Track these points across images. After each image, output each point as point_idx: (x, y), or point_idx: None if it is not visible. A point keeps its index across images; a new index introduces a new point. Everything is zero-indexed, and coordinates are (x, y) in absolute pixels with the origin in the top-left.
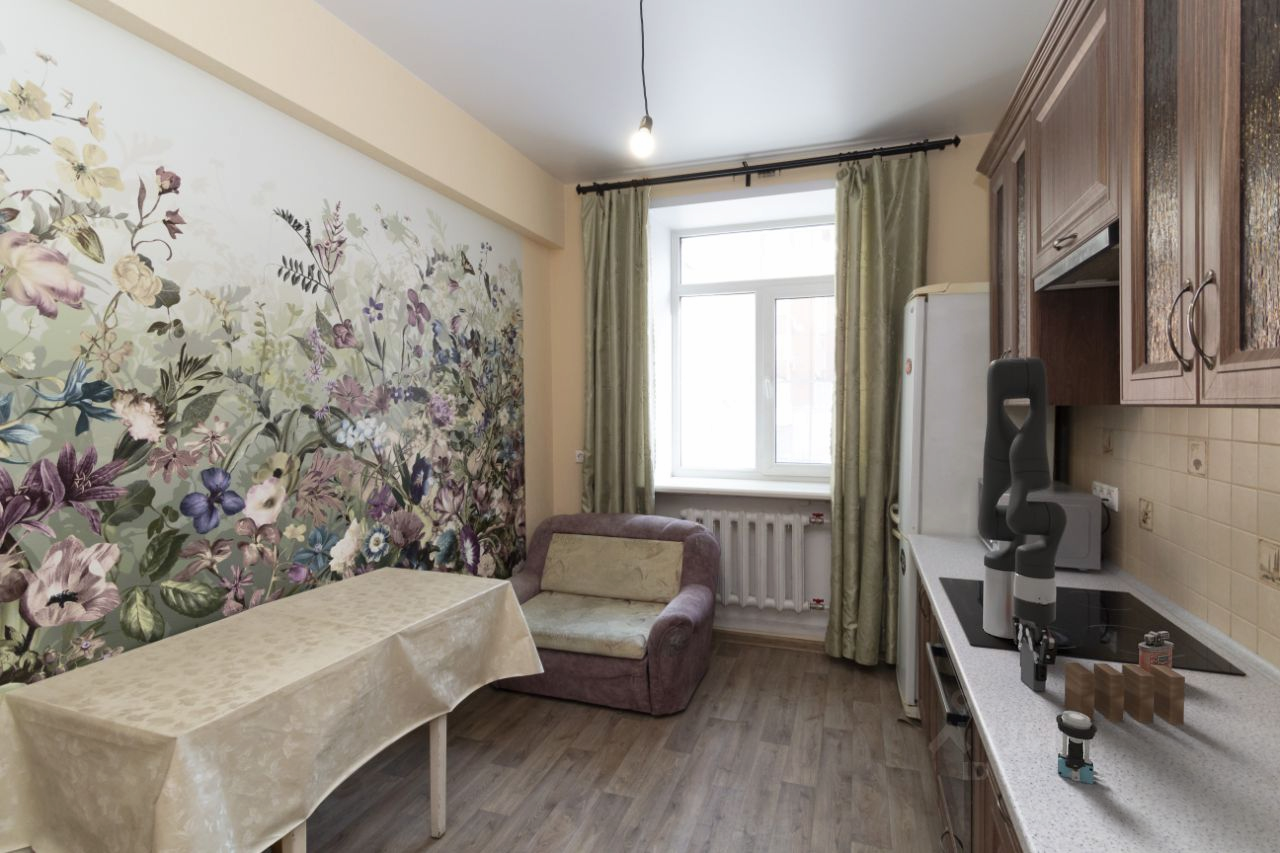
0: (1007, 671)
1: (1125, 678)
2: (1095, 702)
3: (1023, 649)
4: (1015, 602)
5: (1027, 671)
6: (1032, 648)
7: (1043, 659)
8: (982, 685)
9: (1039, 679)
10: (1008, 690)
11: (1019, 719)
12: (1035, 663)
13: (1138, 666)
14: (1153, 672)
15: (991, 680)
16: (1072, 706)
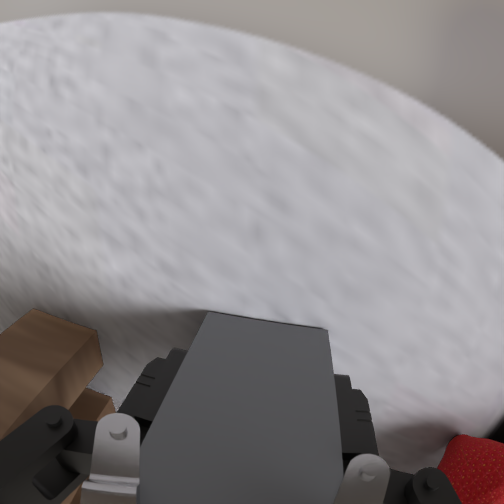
0: (420, 322)
1: (76, 502)
2: (90, 408)
3: (305, 479)
4: None
5: (255, 368)
6: (84, 495)
7: (21, 428)
8: (284, 82)
9: (156, 359)
10: (219, 194)
11: (13, 114)
12: (136, 415)
13: None
14: None
15: (345, 173)
16: (46, 331)
